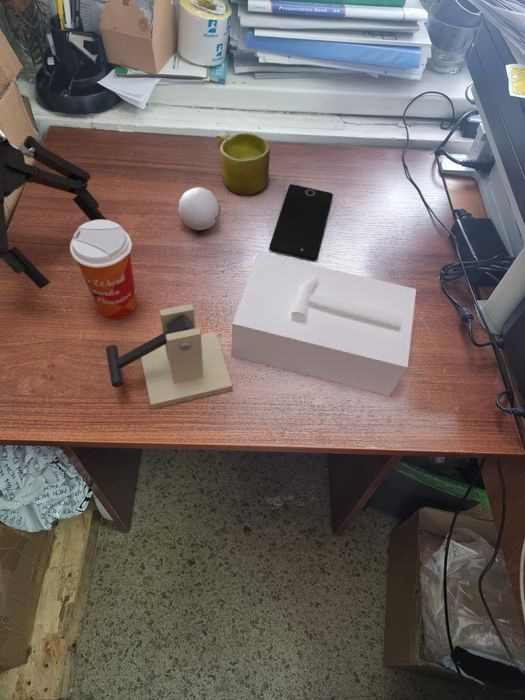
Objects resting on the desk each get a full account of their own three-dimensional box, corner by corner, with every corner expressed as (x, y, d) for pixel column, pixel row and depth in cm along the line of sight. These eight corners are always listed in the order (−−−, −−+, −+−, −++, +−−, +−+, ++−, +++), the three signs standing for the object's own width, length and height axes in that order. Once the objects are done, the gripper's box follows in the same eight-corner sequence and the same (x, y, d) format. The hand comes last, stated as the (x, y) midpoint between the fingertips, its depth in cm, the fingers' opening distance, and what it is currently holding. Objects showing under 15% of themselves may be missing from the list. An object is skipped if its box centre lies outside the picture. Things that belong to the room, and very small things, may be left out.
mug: (288, 181, 98) (273, 137, 90) (244, 210, 98) (226, 168, 90) (258, 155, 106) (242, 113, 98) (217, 182, 105) (198, 141, 97)
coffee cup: (83, 320, 80) (58, 254, 67) (100, 280, 84) (80, 212, 72) (135, 329, 80) (119, 265, 67) (149, 289, 84) (137, 222, 72)
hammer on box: (254, 286, 86) (258, 240, 77) (399, 322, 84) (421, 279, 75) (231, 355, 78) (232, 313, 69) (389, 396, 77) (413, 358, 67)
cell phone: (332, 196, 100) (333, 192, 99) (316, 262, 90) (317, 258, 89) (289, 187, 100) (289, 183, 100) (268, 250, 91) (268, 247, 90)
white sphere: (213, 242, 91) (212, 211, 85) (173, 233, 92) (170, 201, 85) (229, 206, 96) (230, 174, 90) (192, 197, 97) (190, 165, 91)
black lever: (118, 389, 69) (107, 384, 67) (112, 353, 72) (101, 347, 70) (199, 346, 66) (189, 339, 64) (189, 310, 69) (179, 303, 67)
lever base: (151, 409, 73) (140, 363, 62) (139, 352, 78) (127, 300, 67) (232, 390, 75) (234, 343, 64) (215, 336, 80) (215, 284, 69)
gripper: (23, 99, 76) (119, 215, 85) (-123, 190, 64) (7, 314, 73) (40, 76, 70) (140, 203, 80) (-118, 171, 58) (23, 308, 67)
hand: (77, 256), depth 76 cm, fingers open, 13 cm apart
